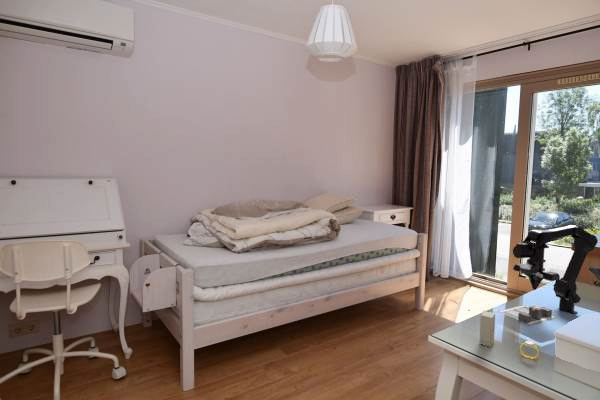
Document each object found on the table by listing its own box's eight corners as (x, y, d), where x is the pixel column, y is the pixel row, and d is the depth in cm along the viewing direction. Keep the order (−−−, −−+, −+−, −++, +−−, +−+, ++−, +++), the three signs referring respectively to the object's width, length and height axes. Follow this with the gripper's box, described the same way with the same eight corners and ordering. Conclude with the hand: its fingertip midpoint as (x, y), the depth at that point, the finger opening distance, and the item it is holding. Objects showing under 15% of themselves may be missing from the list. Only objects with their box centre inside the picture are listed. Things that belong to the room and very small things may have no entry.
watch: (519, 357, 137) (518, 342, 137) (520, 354, 139) (520, 339, 139) (538, 361, 134) (538, 345, 133) (539, 358, 136) (538, 342, 135)
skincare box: (491, 348, 144) (492, 318, 142) (478, 344, 146) (480, 315, 145) (494, 341, 149) (495, 312, 147) (482, 338, 151) (483, 310, 150)
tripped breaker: (533, 315, 170) (533, 305, 170) (541, 318, 167) (542, 308, 166) (528, 316, 169) (529, 306, 168) (537, 319, 165) (537, 309, 165)
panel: (523, 307, 182) (523, 299, 182) (556, 320, 168) (557, 311, 167) (497, 313, 175) (498, 305, 175) (530, 327, 161) (530, 318, 160)
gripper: (506, 254, 177) (504, 285, 179) (545, 264, 160) (543, 299, 162) (522, 252, 182) (520, 282, 183) (561, 261, 165) (559, 295, 166)
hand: (534, 289), depth 174 cm, fingers closed
